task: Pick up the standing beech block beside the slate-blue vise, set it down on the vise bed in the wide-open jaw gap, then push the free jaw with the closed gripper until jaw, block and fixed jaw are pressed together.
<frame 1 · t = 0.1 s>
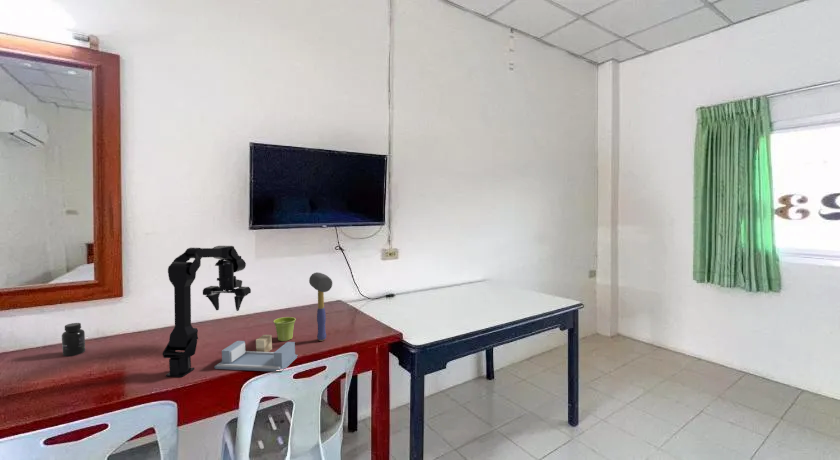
hand: (227, 310, 161), 15 cm above the table, tool pointing down, fingers open, 9 cm apart
plant pot: (285, 339, 167), on the table
block: (264, 351, 153), on the table
rubber mallet: (321, 340, 166), on the table
free jaw: (234, 352, 143), point 4 cm above the table, slide at 0.0 cm
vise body: (257, 362, 142), on the table
supplement bottle: (74, 353, 152), on the table
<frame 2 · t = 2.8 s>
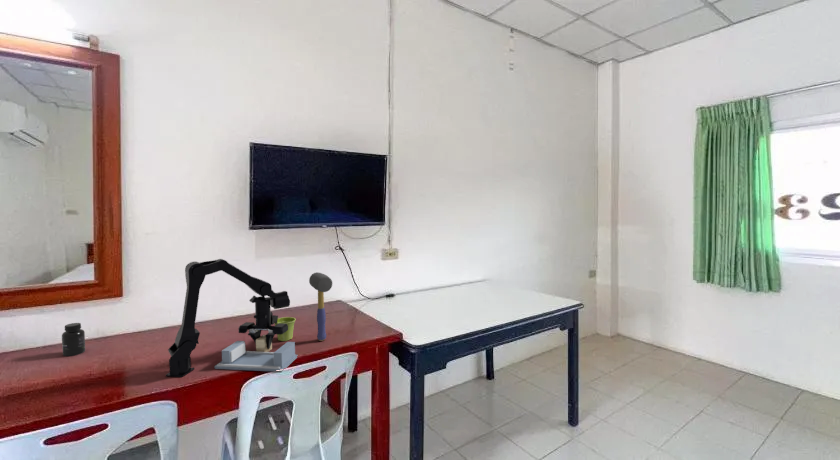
hand: (264, 348, 153), 1 cm above the table, tool pointing down, fingers closed on block, 3 cm apart
block: (264, 351, 153), on the table, touching gripper
everything else where it was.
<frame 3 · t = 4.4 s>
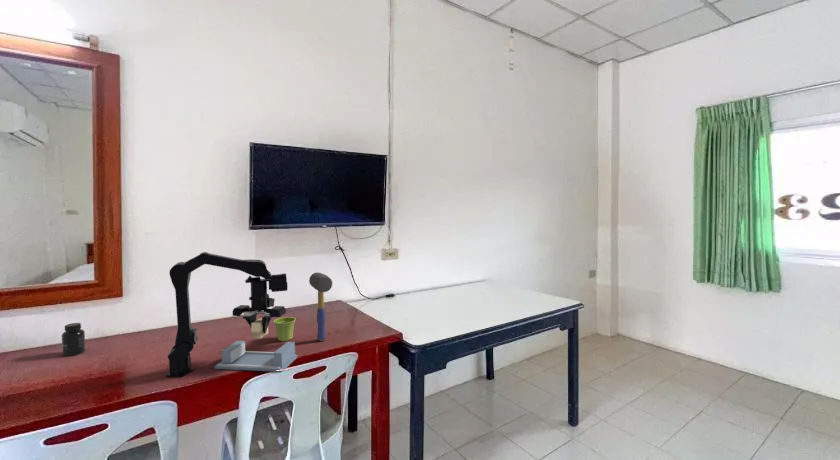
hand: (260, 332, 144), 11 cm above the table, tool pointing down, fingers closed on block, 3 cm apart
block: (260, 335, 144), point 10 cm above the table, touching gripper
everything else where it was.
when the fingers open (3 cm above the table, at t = 6.3 s): block stays where it is, resting on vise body.
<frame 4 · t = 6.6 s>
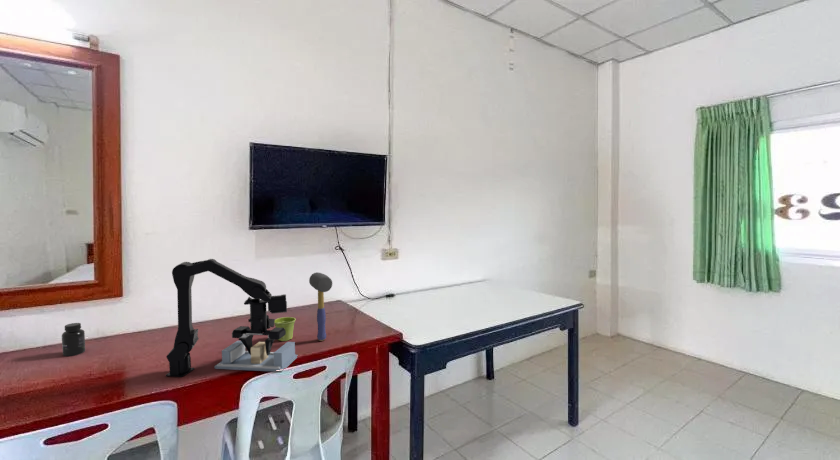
hand: (259, 354, 142), 3 cm above the table, tool pointing down, fingers open, 6 cm apart
block: (259, 360, 142), point 1 cm above the table, touching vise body
everything else where it was.
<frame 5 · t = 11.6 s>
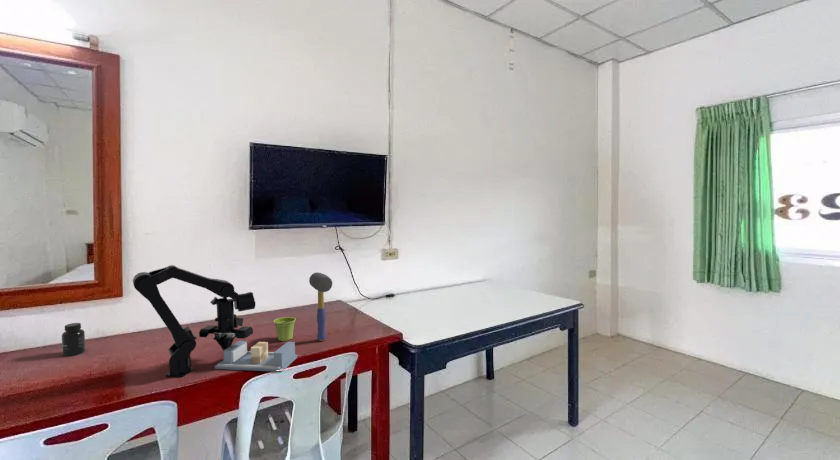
hand: (227, 353, 144), 3 cm above the table, tool pointing down, fingers closed
free jaw: (236, 352, 143), point 4 cm above the table, slide at 0.7 cm, touching gripper
everything else where it was.
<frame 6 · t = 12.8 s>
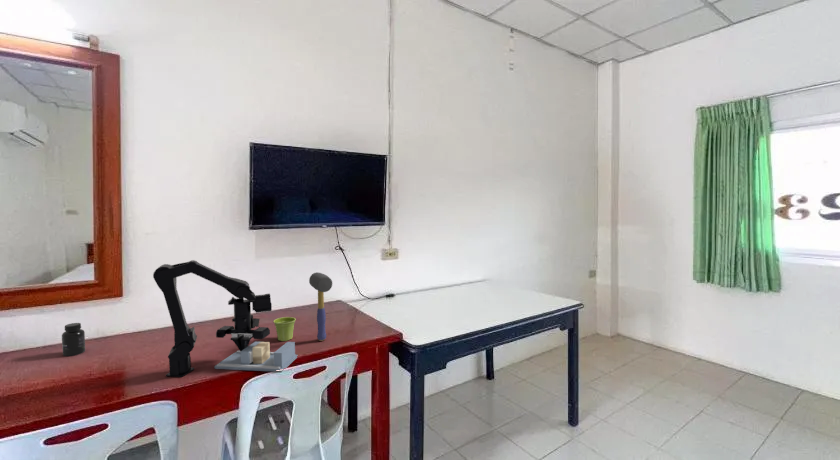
hand: (243, 354, 143), 3 cm above the table, tool pointing down, fingers closed
block: (261, 360, 142), point 1 cm above the table, touching free jaw, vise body
free jaw: (252, 352, 142), point 4 cm above the table, slide at 7.4 cm, touching block, gripper
everything else where it was.
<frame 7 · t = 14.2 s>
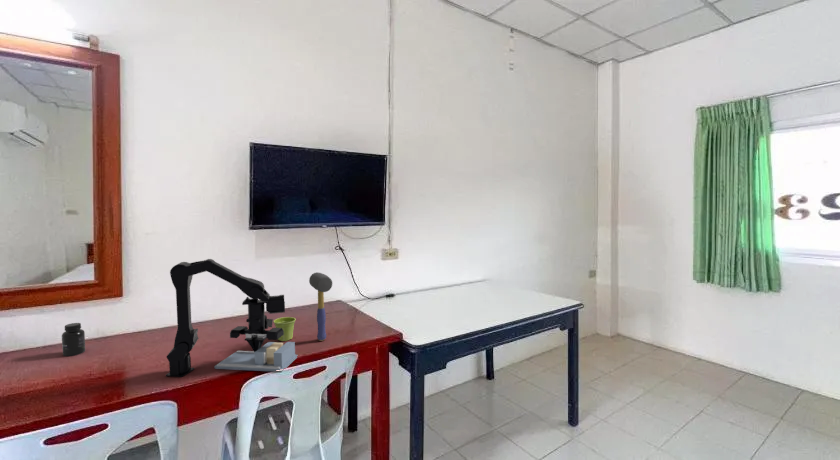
hand: (257, 354, 142), 3 cm above the table, tool pointing down, fingers closed
block: (275, 360, 142), point 1 cm above the table, touching free jaw, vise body
free jaw: (266, 353, 142), point 4 cm above the table, slide at 12.9 cm, touching block, gripper
everything else where it was.
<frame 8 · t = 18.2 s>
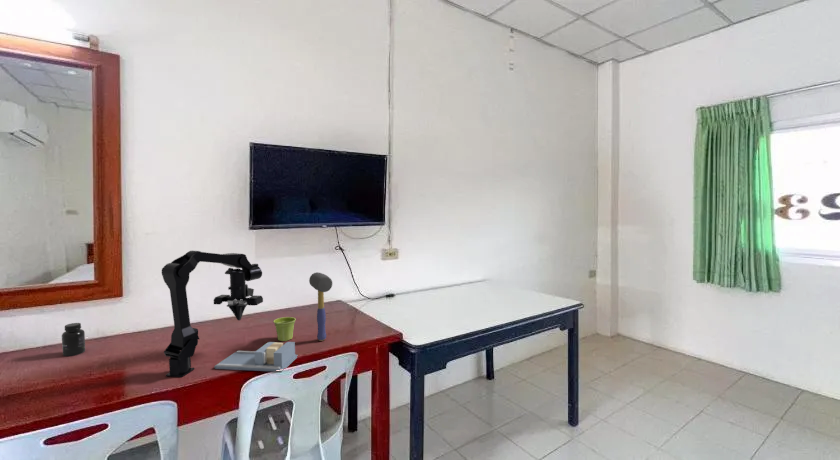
hand: (239, 320, 156), 12 cm above the table, tool pointing down, fingers closed
free jaw: (266, 353, 142), point 4 cm above the table, slide at 12.9 cm, touching block
everything else where it was.
at the end: block 0.0 cm from the target spot on the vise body, point 1.0 cm above the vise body's base; block tilted 0°; free jaw slide at 12.9 cm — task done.
